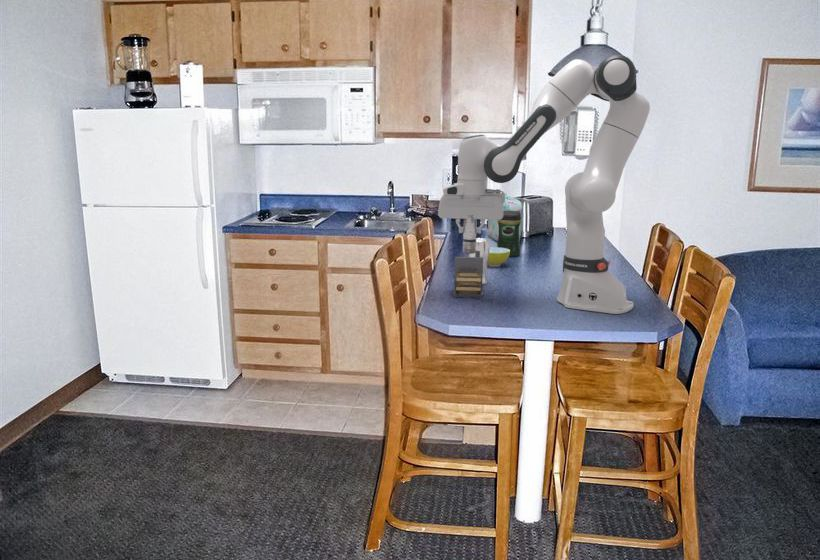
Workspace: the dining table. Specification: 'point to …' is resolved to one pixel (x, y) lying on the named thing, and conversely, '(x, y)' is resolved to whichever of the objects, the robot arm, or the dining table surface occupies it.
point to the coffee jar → (509, 232)
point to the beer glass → (482, 255)
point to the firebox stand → (468, 277)
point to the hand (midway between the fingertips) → (469, 233)
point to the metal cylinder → (469, 235)
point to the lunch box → (508, 205)
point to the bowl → (497, 256)
